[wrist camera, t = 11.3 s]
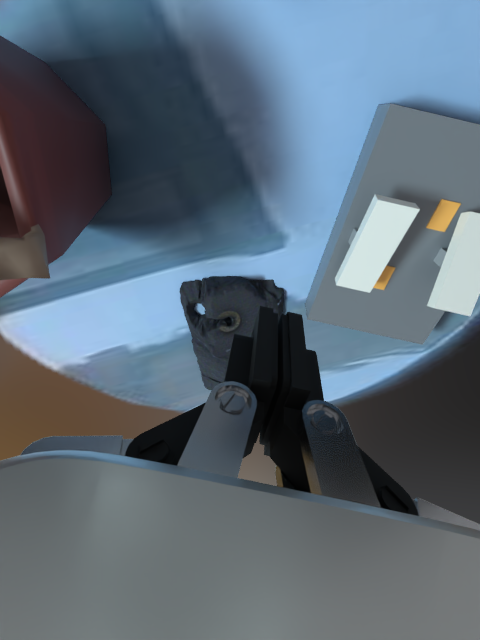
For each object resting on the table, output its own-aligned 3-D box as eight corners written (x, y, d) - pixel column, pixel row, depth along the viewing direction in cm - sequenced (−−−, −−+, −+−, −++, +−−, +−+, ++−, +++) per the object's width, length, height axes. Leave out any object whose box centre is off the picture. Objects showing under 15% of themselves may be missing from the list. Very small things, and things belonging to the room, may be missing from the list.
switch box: (378, 104, 31) (396, 102, 26) (530, 140, 31) (574, 145, 26) (305, 303, 44) (308, 325, 40) (411, 327, 45) (427, 352, 40)
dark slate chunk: (195, 381, 56) (189, 402, 52) (179, 272, 44) (169, 287, 40) (279, 386, 55) (279, 407, 51) (286, 274, 43) (287, 290, 39)
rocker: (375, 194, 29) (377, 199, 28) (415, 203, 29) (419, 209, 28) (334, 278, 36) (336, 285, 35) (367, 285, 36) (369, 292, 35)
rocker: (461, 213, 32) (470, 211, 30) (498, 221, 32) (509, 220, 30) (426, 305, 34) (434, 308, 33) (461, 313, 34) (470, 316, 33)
